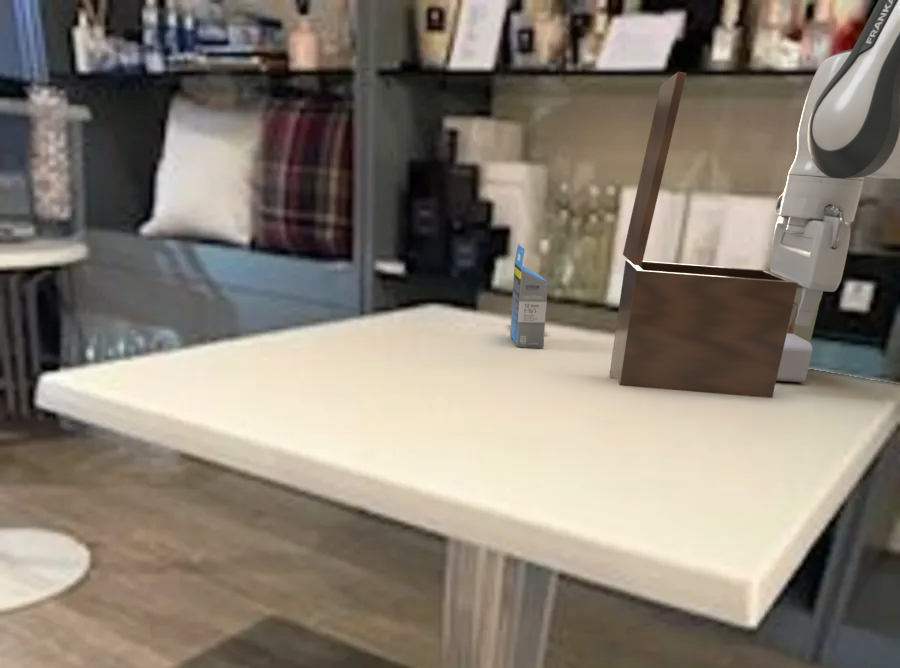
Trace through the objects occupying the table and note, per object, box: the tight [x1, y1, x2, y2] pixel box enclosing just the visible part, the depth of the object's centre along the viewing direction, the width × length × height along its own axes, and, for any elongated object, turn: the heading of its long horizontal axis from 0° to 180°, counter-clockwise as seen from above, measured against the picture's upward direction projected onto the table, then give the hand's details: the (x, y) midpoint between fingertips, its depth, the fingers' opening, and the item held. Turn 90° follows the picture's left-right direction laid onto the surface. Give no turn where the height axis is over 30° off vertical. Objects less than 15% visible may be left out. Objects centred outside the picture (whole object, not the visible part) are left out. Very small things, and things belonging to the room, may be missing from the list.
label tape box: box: [509, 242, 549, 349], centre depth 117 cm, size 9×4×12 cm, turn 2°
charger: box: [776, 333, 813, 383], centre depth 108 cm, size 5×9×15 cm
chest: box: [608, 259, 798, 399], centre depth 94 cm, size 16×13×13 cm
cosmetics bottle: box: [787, 285, 821, 343], centre depth 115 cm, size 5×4×10 cm
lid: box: [622, 71, 687, 266], centre depth 87 cm, size 16×13×1 cm
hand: (791, 319), depth 114 cm, fingers open, 8 cm apart
